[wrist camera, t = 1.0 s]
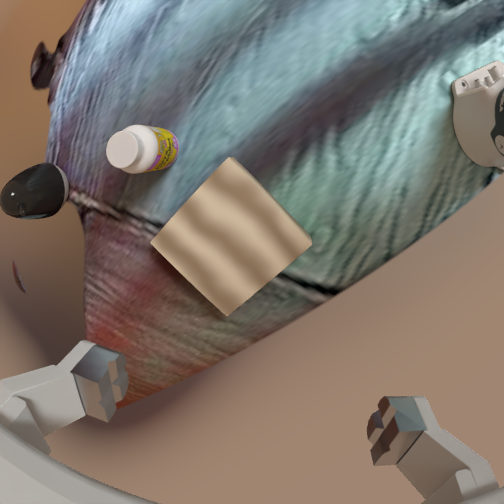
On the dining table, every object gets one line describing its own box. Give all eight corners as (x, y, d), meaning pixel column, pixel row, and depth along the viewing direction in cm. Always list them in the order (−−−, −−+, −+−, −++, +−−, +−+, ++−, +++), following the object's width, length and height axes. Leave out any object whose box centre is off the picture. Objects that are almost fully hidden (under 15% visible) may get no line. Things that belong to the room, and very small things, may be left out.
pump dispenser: (69, 221, 51) (16, 244, 36) (37, 199, 50) (-15, 216, 36) (83, 173, 47) (25, 185, 33) (49, 153, 47) (-7, 161, 32)
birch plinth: (233, 157, 44) (228, 157, 40) (310, 236, 47) (312, 244, 43) (159, 235, 49) (150, 242, 46) (231, 304, 52) (226, 316, 48)
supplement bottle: (171, 175, 46) (134, 184, 34) (138, 161, 46) (93, 167, 34) (187, 136, 44) (152, 132, 32) (151, 123, 43) (109, 117, 31)
